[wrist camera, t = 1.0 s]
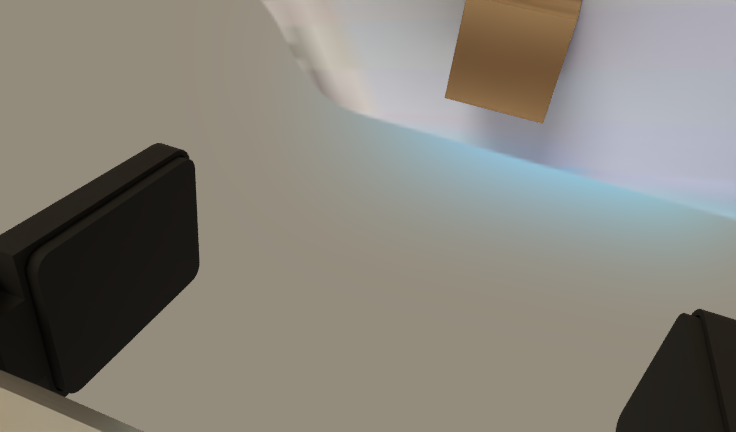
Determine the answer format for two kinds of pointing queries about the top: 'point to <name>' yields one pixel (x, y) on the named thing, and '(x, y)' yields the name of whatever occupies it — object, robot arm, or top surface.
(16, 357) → the robot arm
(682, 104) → the top surface
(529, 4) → the brown piece
